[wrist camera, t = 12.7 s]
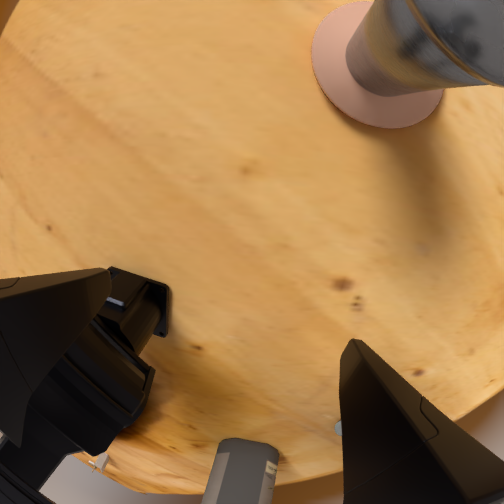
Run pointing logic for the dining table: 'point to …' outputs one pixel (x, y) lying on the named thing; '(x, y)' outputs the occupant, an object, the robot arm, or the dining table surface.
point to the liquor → (242, 473)
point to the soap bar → (345, 86)
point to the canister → (428, 46)
